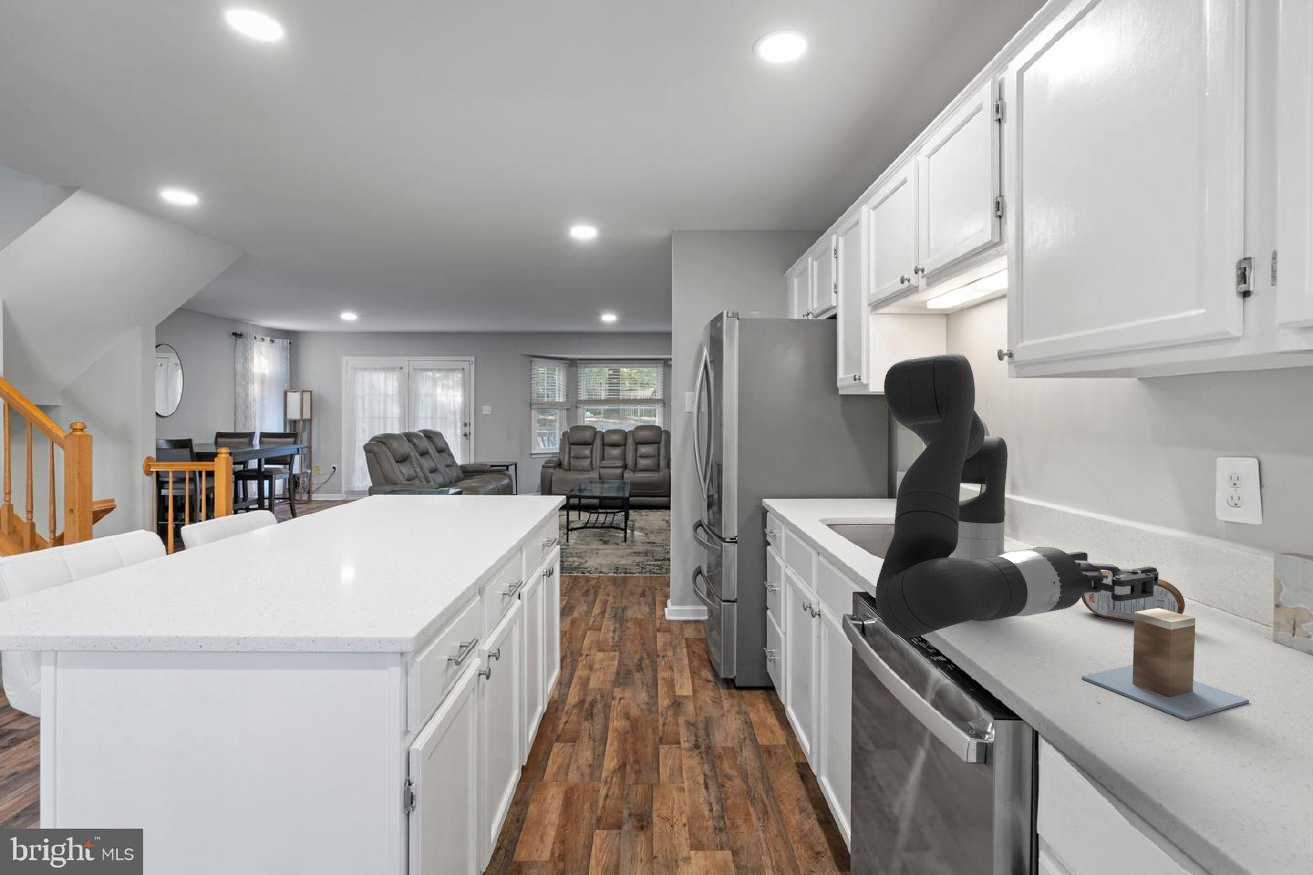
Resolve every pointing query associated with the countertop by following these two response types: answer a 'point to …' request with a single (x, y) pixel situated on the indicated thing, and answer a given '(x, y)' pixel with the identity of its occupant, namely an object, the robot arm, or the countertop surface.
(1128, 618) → the tin
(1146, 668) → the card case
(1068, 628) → the countertop surface
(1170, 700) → the mat
